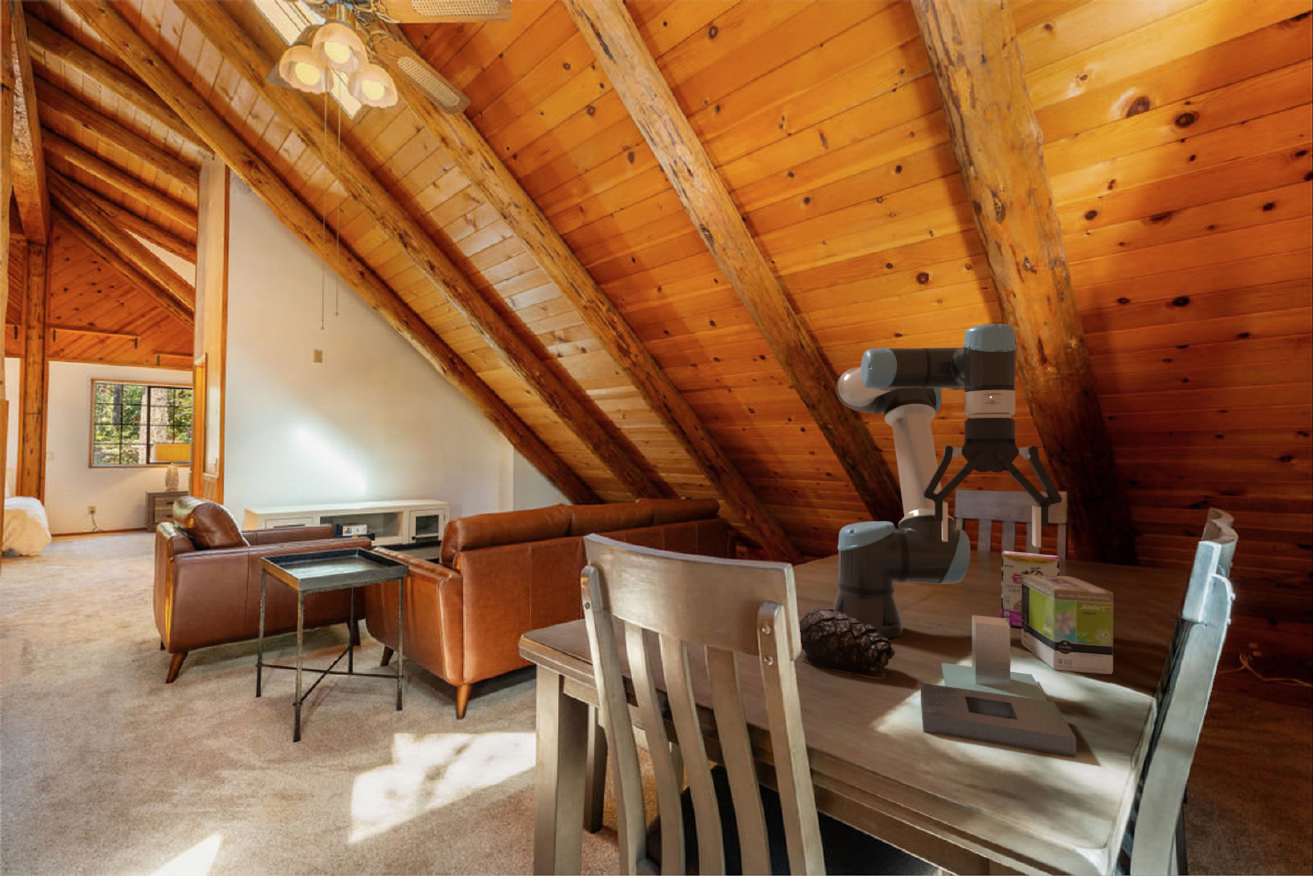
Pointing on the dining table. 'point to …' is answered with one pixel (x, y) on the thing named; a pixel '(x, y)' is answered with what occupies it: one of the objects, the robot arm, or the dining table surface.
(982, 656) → the pale wooden block
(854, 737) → the dining table surface
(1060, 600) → the tea box
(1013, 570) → the candy bar box
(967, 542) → the robot arm
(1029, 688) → the pad
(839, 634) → the pine cone
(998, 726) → the grey slotted board
